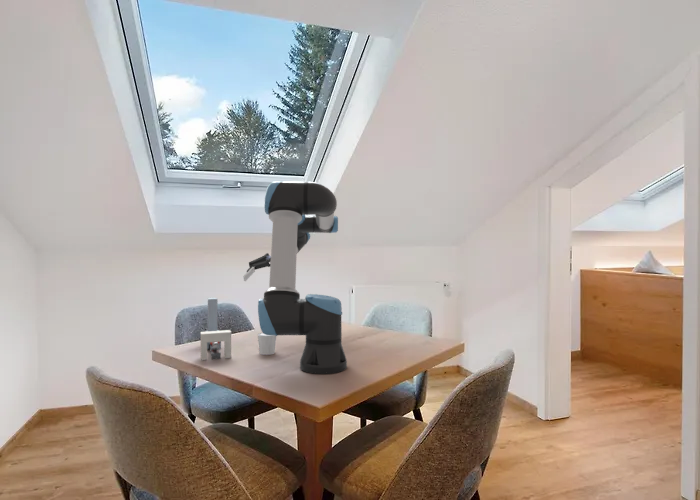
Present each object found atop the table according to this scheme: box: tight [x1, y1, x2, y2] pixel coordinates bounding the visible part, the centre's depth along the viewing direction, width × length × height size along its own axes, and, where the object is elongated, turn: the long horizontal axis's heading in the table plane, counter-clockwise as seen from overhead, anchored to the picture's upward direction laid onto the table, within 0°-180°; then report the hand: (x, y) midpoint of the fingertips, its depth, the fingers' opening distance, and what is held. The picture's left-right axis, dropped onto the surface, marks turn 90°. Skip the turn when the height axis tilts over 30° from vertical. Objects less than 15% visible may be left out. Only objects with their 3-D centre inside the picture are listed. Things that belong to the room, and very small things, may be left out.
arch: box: [200, 329, 232, 361], centre depth 152 cm, size 4×10×9 cm, turn 110°
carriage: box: [205, 297, 222, 350], centre depth 169 cm, size 11×5×18 cm, turn 20°
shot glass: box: [257, 332, 277, 356], centre depth 159 cm, size 7×7×7 cm
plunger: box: [210, 342, 220, 350], centre depth 154 cm, size 9×3×3 cm, turn 20°
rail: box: [208, 344, 222, 360], centre depth 162 cm, size 24×3×2 cm, turn 20°
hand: (257, 284), depth 180 cm, fingers open, 13 cm apart
